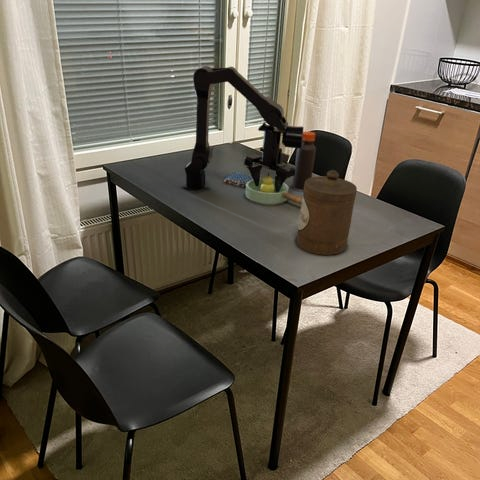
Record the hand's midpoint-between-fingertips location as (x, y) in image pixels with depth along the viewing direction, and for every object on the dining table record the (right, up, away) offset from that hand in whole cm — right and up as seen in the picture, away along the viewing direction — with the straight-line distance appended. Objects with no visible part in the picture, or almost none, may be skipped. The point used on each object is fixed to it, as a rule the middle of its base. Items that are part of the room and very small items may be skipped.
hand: (266, 190), depth 173 cm
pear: (0, -2, +1) cm, 2 cm away
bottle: (+14, +4, +12) cm, 18 cm away
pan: (0, -2, +1) cm, 3 cm away
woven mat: (-9, +6, +13) cm, 17 cm away
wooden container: (+15, -23, -27) cm, 39 cm away
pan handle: (+10, -6, -7) cm, 14 cm away
